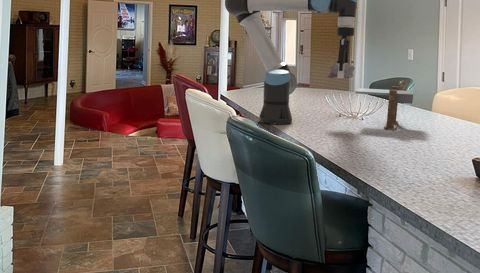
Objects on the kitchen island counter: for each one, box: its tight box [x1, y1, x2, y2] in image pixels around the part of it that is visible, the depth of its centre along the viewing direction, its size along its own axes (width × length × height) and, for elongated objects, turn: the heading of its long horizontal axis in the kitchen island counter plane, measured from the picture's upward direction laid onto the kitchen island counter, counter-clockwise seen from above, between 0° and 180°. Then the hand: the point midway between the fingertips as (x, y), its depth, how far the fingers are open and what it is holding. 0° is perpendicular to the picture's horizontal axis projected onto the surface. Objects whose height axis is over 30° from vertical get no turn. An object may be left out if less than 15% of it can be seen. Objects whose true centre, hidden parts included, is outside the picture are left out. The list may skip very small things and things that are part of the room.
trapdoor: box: [354, 87, 415, 105], centre depth 209 cm, size 24×16×4 cm, turn 69°
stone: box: [327, 62, 356, 79], centre depth 214 cm, size 8×12×7 cm, turn 66°
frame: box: [383, 85, 400, 131], centre depth 209 cm, size 5×22×17 cm, turn 159°
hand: (341, 77), depth 215 cm, fingers closed on stone, 8 cm apart
